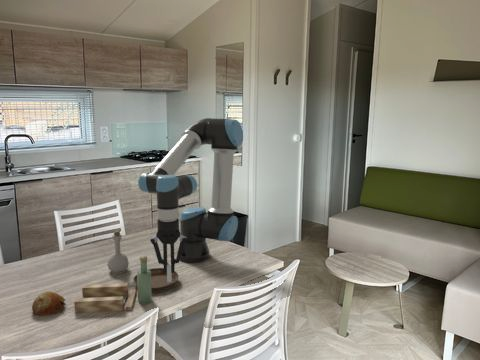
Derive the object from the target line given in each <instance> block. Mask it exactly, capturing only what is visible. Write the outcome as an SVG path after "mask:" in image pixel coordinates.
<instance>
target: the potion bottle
mask: <svg viewBox="0 0 480 360" xmlns="http://www.w3.org/2000/svg"><path fill="white" fill-rule="evenodd" d="M121 239H122V234H121V230H116V231H114V232H113V235H112V240H113V241H114V253H112V254H111V255H110V257H109V258H108V259H107V268H108V270H109V271H110V273H111V274H114V275H121V274H124V273H125V272H127V269H128V268H129V265H130V263H129V259H128V258H129V257H128V256H127V255H126V253H123V252H121Z"/></svg>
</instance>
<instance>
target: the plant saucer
mask: <svg viewBox="0 0 480 360" xmlns="http://www.w3.org/2000/svg"><path fill="white" fill-rule="evenodd" d="M147 270H150V271H151V285H152V293H153V292H161V291H165V290H169V289H170V288H172V287H173V286H174V285H175V284H176V283H177V282H178V280H179V274H178V272H177V271H176V270H175V271H174V273H172V281H171V282H167V273H164V267H155V268H147ZM132 281H133V283H134V284H135V285H136V286H137V274H135V276H134V277H133V280H132Z"/></svg>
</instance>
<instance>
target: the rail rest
mask: <svg viewBox="0 0 480 360" xmlns="http://www.w3.org/2000/svg"><path fill="white" fill-rule="evenodd" d="M81 289H82V290H81V291H82V297H79V298H75V300H74V302H73V303H74V304H73V305H74V313H75V314H76V313H92V312H93V313H94V312H95V313H96V312H111V311H112V312H116V311H117V312H119V311H123V310H124V309H125V311H132V310H133V309H132V308H133V305H134V303H135V299H136V295H137V289H130V291H129V284H128V283H125V282H123V283H104V284H103V283H102V284H100V283H98V284H83V286H82V288H81ZM127 297H128V298H127ZM124 306H125V307H124Z"/></svg>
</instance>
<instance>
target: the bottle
mask: <svg viewBox="0 0 480 360" xmlns="http://www.w3.org/2000/svg"><path fill="white" fill-rule="evenodd" d="M139 261H140V270H138V271H137V272H136V275H137V285H136V287H137V302H138V303H139V304H142V305H147V304H150V303H151V302H152V301H153V292H152V285H151V271H150V270H148V262H147V261H148V256H146V255H141V256H140V257H139Z"/></svg>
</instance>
